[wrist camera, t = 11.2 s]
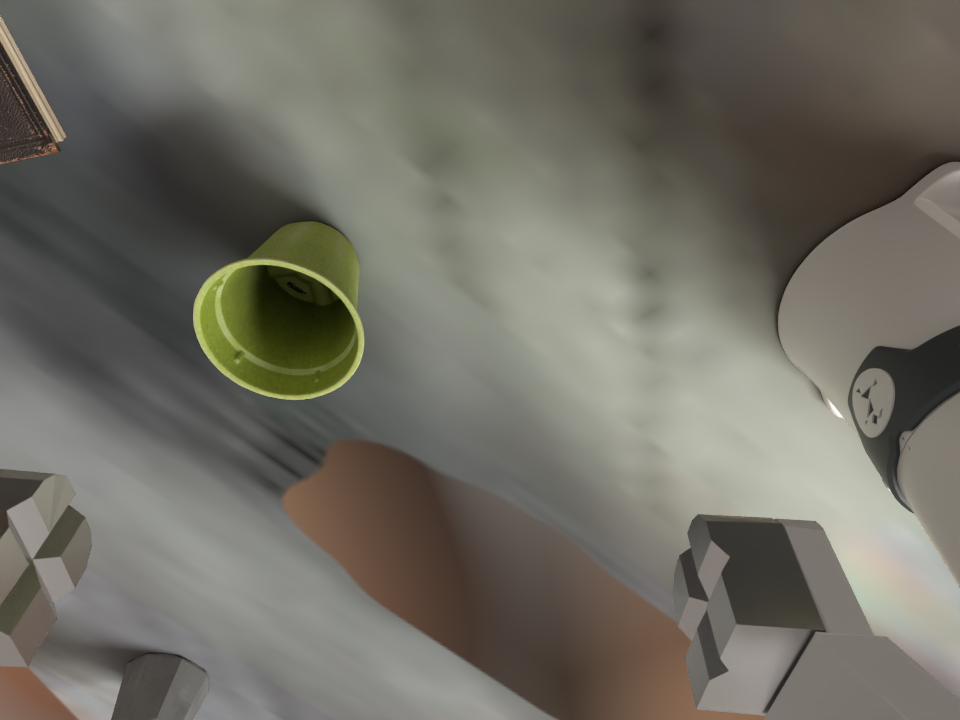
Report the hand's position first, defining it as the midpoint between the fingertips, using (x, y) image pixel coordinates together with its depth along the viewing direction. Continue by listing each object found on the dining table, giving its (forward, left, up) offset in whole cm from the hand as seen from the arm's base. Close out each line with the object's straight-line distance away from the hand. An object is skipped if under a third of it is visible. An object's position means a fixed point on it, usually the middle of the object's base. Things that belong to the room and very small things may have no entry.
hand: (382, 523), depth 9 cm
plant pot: (+10, +15, -34) cm, 39 cm away
